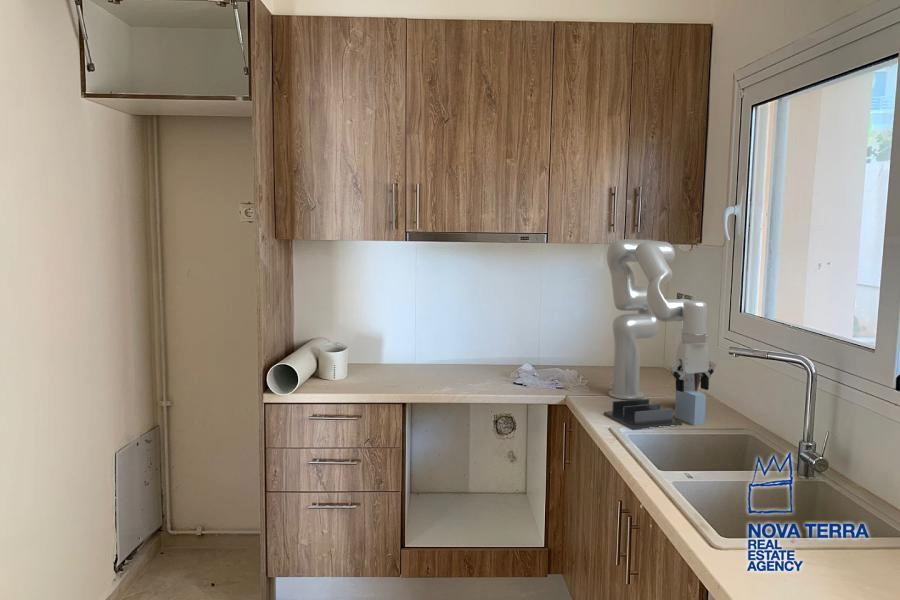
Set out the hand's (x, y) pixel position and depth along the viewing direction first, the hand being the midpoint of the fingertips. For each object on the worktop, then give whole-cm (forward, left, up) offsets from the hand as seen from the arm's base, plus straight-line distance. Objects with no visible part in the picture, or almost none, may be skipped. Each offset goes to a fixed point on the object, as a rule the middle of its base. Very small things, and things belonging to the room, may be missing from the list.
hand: (692, 390), depth 210 cm
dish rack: (-6, -15, -11) cm, 19 cm away
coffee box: (-13, +10, -11) cm, 19 cm away
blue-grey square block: (-1, 0, -11) cm, 11 cm away
